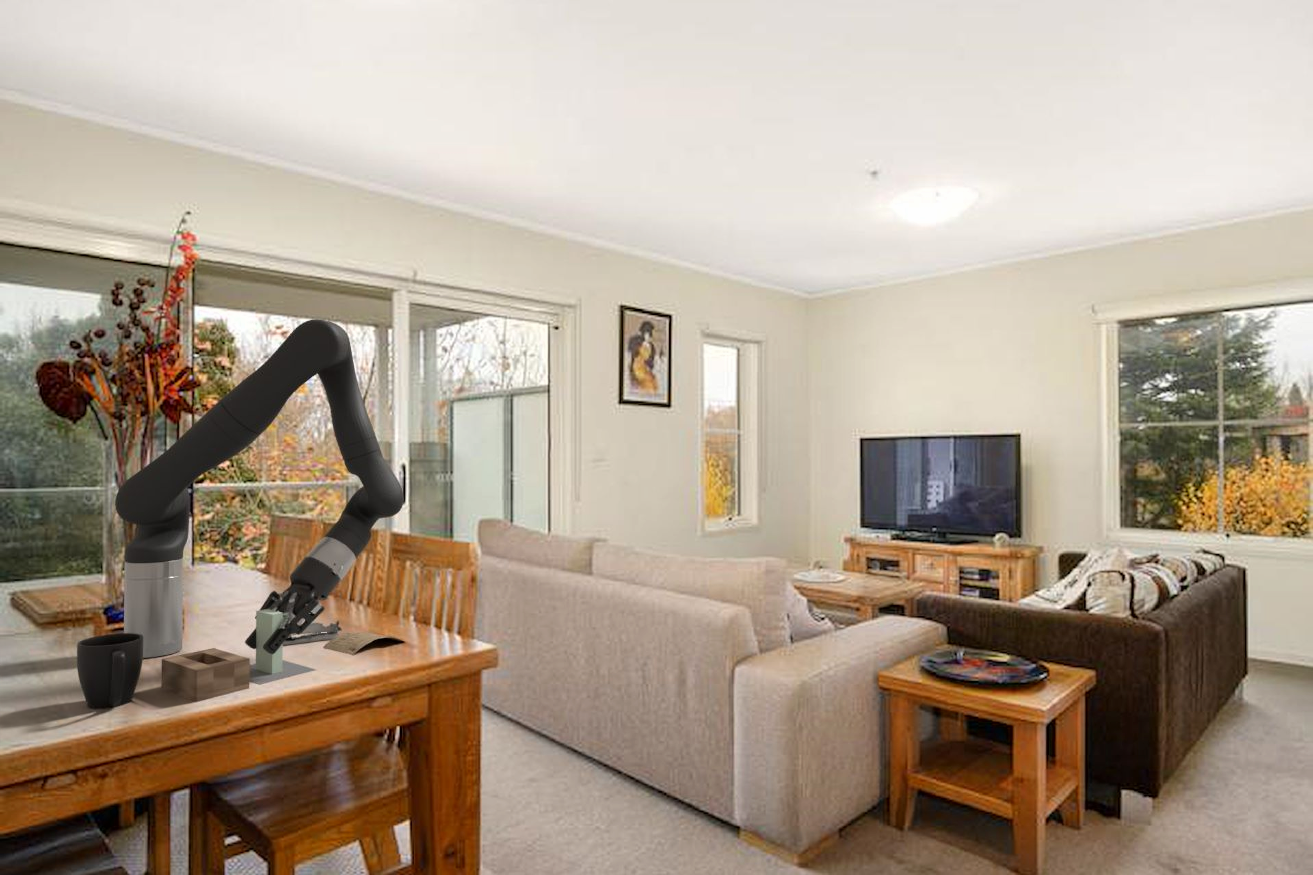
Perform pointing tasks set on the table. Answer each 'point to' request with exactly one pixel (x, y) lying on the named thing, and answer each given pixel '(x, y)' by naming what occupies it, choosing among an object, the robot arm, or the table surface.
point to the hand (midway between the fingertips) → (258, 648)
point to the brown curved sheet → (353, 641)
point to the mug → (109, 668)
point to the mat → (287, 671)
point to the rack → (205, 674)
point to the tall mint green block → (264, 629)
